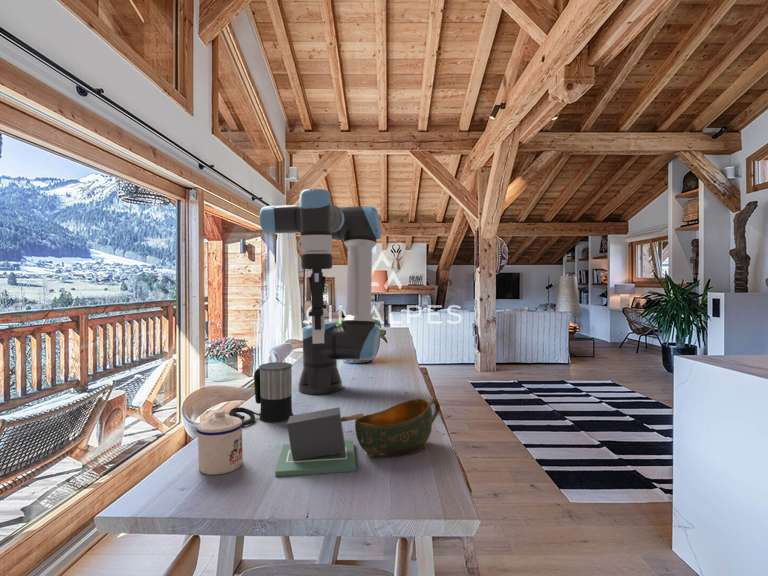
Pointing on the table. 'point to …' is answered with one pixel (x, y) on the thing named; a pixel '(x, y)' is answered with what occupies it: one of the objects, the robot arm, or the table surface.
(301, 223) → the robot arm
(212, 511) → the table surface
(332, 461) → the pin board
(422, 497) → the table surface
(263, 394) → the milk frother
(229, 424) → the teacup with lid
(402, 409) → the green gold gravy boat
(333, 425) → the block
